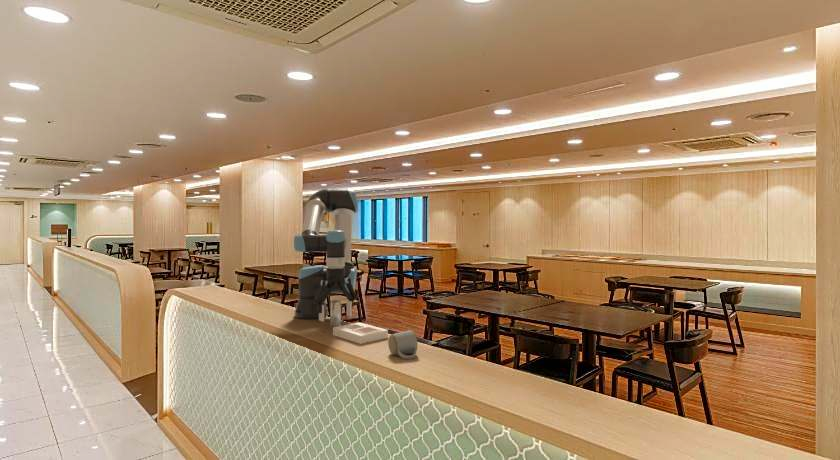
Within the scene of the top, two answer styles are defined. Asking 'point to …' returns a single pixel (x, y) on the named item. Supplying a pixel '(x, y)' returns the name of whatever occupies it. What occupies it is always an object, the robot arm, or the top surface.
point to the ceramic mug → (403, 344)
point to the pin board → (360, 332)
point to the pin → (335, 314)
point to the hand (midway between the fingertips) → (335, 318)
